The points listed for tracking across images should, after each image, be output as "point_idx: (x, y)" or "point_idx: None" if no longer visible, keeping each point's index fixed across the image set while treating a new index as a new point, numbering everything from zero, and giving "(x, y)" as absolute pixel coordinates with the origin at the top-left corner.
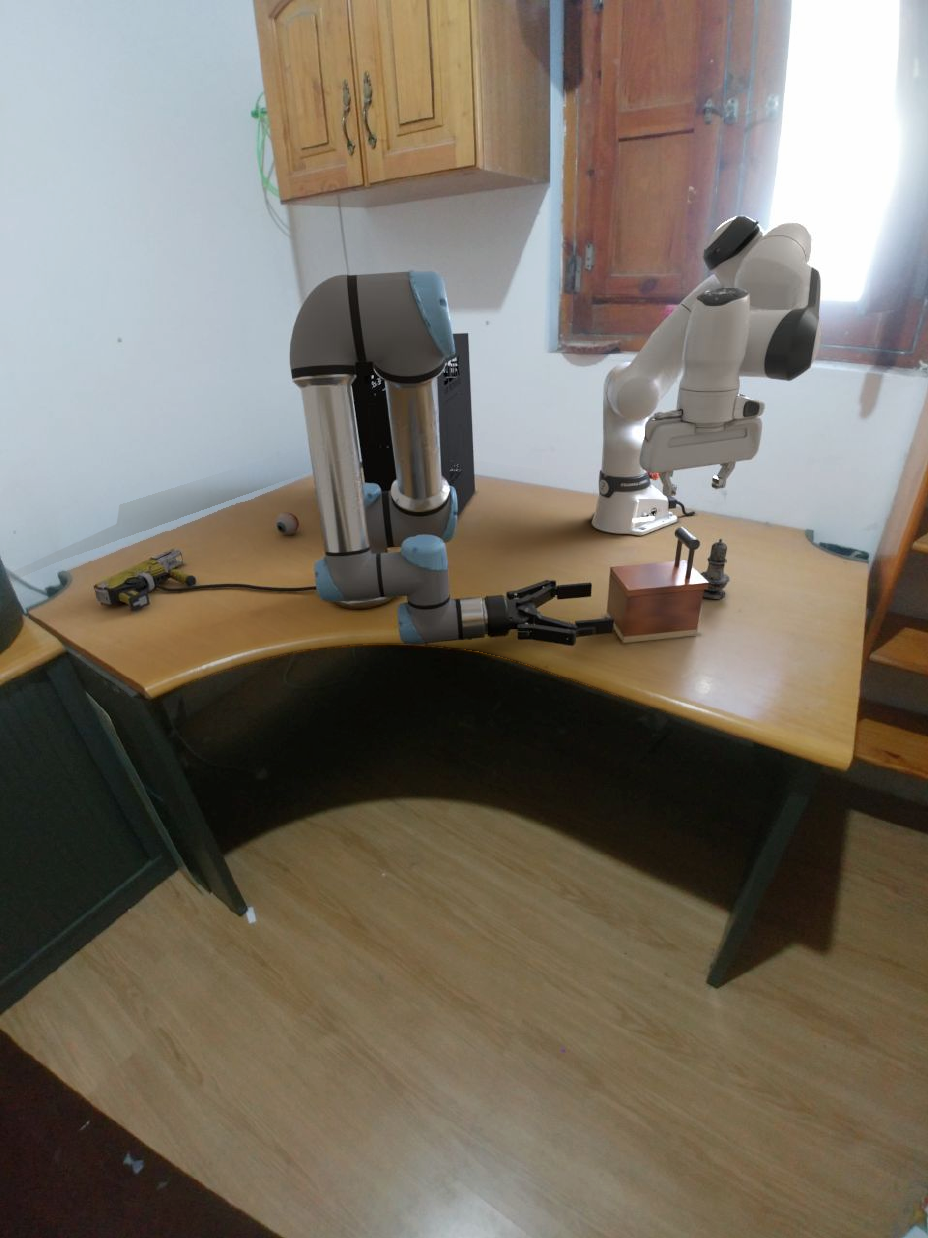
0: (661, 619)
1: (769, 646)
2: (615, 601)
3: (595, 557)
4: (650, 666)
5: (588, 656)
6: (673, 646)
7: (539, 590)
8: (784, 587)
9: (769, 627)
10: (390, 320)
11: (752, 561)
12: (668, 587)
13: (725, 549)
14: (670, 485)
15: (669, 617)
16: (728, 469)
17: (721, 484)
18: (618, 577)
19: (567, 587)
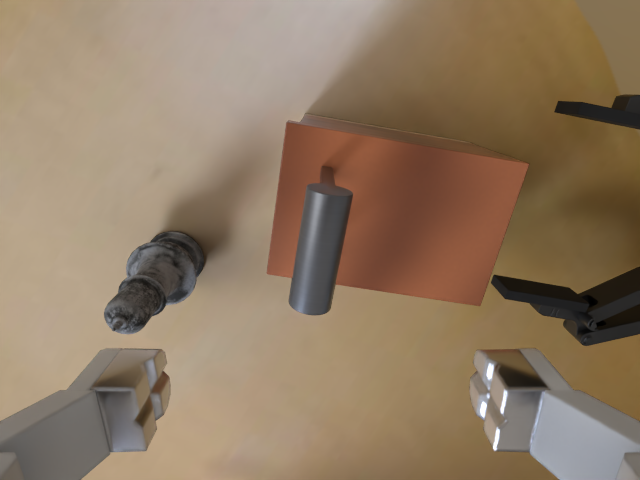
0: (398, 133)
1: (177, 9)
2: None
3: (321, 457)
4: (471, 33)
5: (563, 120)
6: (377, 90)
7: (610, 319)
8: (4, 227)
9: (131, 84)
10: None
11: (15, 346)
12: (410, 142)
13: (117, 298)
14: (571, 397)
15: (379, 130)
16: (11, 452)
17: (124, 362)
18: (501, 244)
19: (565, 298)
